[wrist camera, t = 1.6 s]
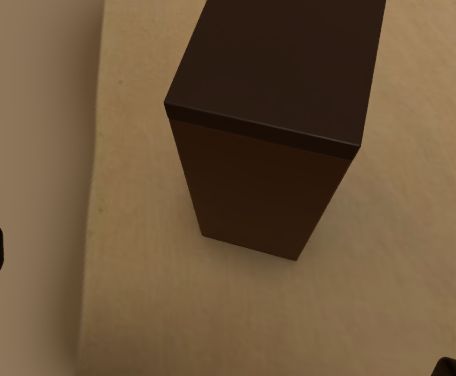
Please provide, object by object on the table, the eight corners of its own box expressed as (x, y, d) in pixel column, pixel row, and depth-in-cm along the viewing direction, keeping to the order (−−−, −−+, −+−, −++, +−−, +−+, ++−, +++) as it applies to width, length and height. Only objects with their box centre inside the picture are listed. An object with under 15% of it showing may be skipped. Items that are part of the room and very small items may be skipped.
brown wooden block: (296, 261, 22) (361, 147, 10) (201, 235, 22) (162, 102, 11) (317, 167, 24) (388, -11, 13) (230, 146, 25) (222, -40, 13)
